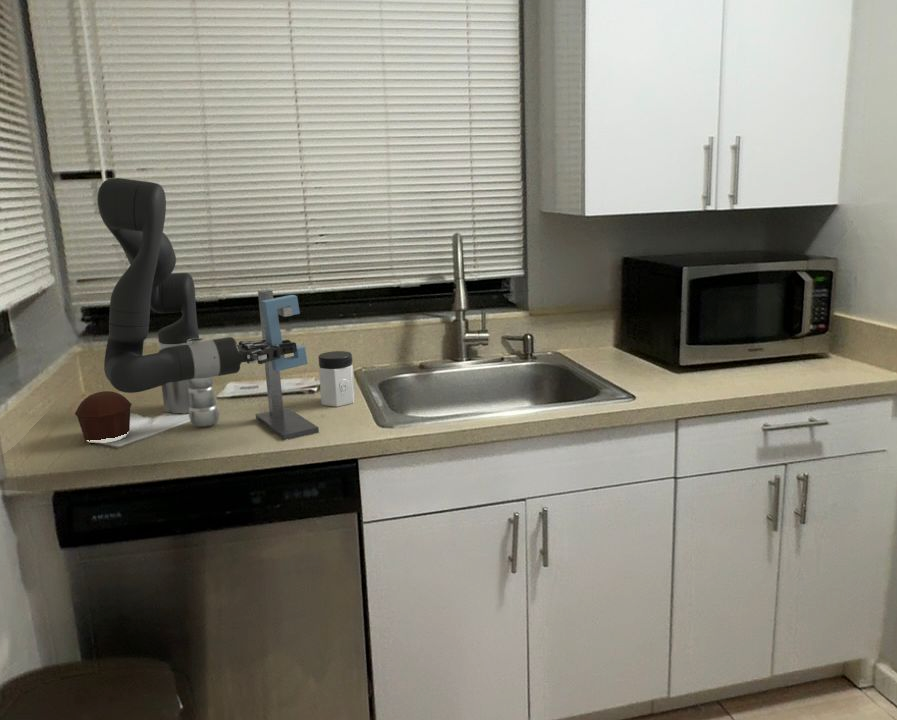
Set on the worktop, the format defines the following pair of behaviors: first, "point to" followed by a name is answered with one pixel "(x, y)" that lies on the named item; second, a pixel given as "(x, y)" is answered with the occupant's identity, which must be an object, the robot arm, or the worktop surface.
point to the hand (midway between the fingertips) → (292, 345)
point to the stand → (280, 392)
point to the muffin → (104, 415)
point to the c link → (275, 333)
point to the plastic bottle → (202, 399)
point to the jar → (336, 378)
